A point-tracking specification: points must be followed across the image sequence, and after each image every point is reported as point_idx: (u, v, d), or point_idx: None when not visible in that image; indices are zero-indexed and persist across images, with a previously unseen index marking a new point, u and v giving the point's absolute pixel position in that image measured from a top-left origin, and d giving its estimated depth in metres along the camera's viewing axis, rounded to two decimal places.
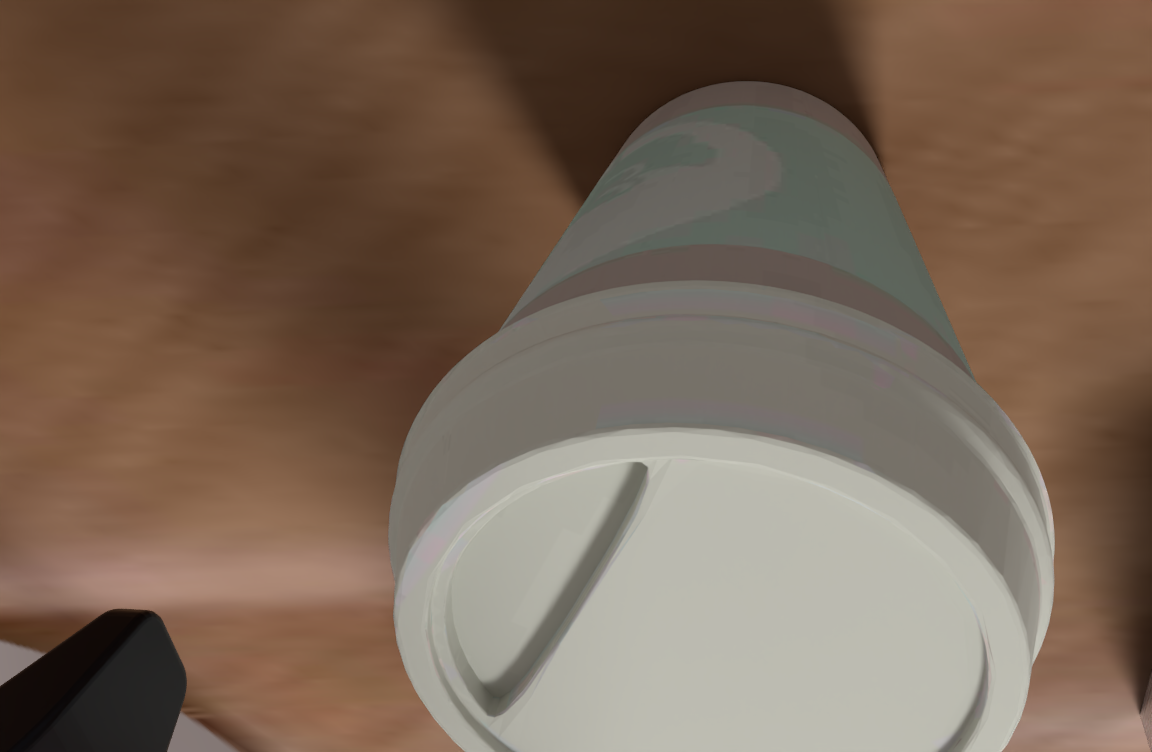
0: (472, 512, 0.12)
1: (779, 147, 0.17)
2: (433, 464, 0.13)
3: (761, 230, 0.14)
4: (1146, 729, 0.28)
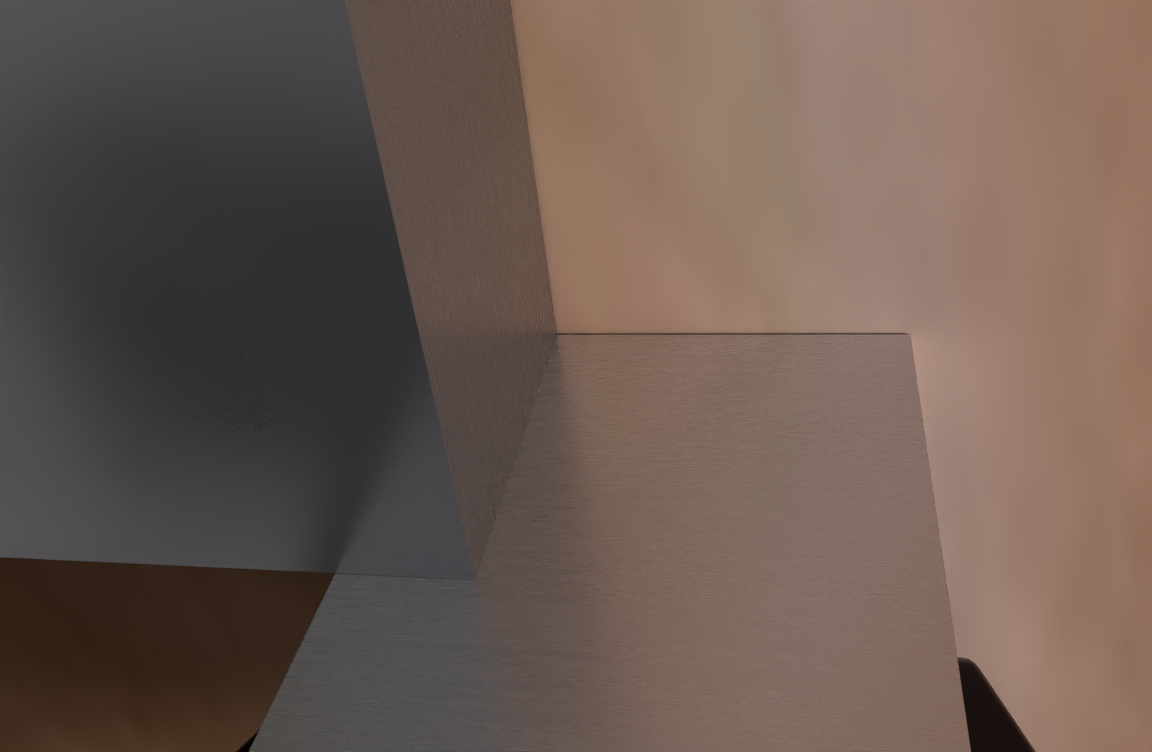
0: None
1: None
2: None
3: None
4: None
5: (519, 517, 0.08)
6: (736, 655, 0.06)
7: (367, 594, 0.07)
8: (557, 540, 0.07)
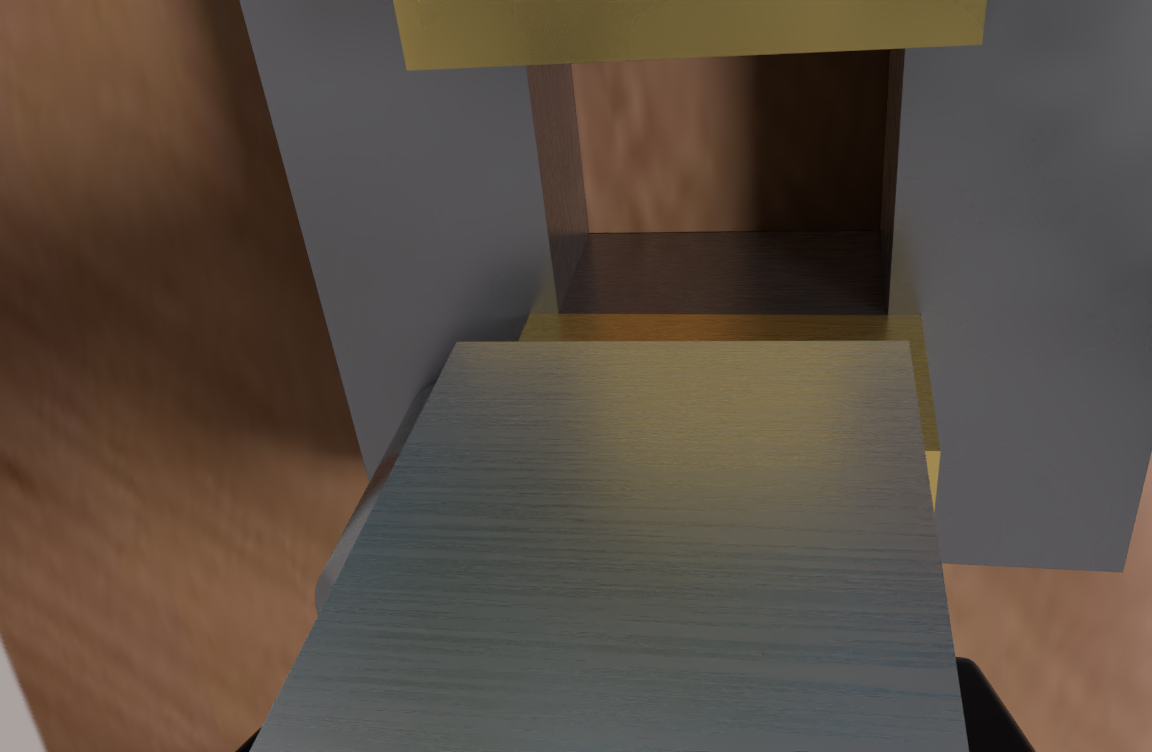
0: None
1: None
2: None
3: None
4: None
5: (524, 516, 0.08)
6: (735, 648, 0.07)
7: (373, 589, 0.07)
8: (560, 539, 0.08)
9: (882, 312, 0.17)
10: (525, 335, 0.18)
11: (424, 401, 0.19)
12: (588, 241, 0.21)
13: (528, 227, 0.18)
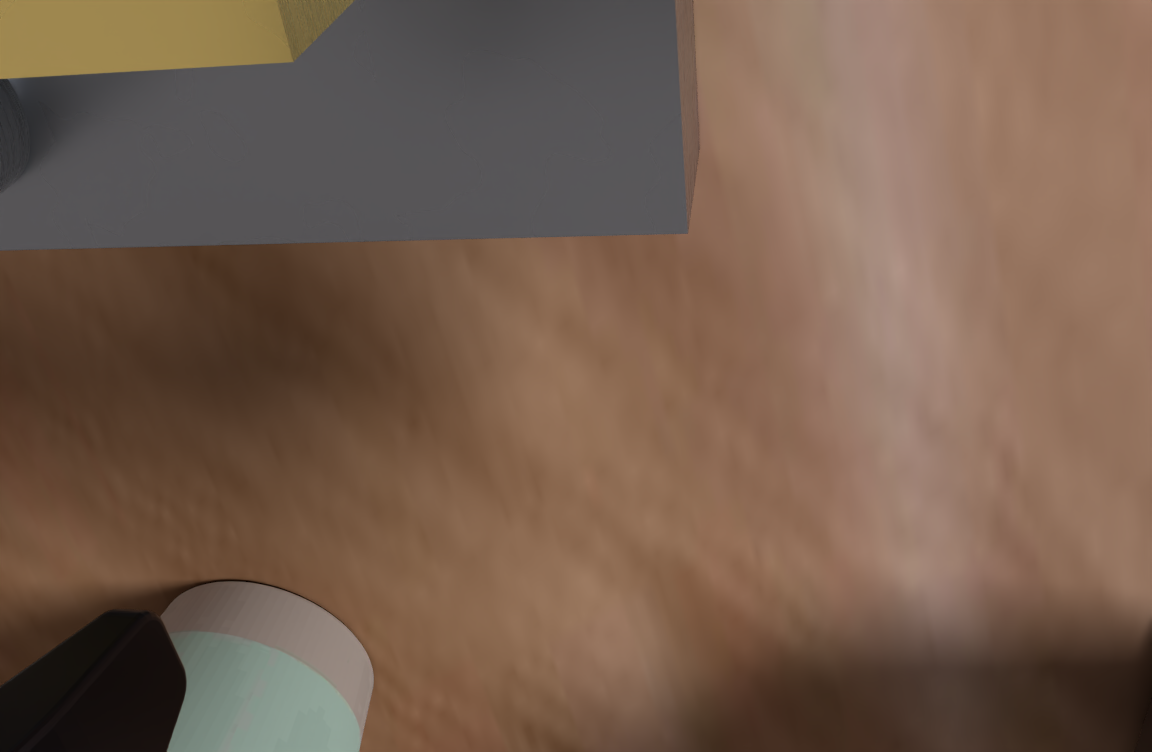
0: None
1: None
2: None
3: None
4: None
5: None
6: None
7: None
8: None
9: None
10: None
11: None
12: None
13: None
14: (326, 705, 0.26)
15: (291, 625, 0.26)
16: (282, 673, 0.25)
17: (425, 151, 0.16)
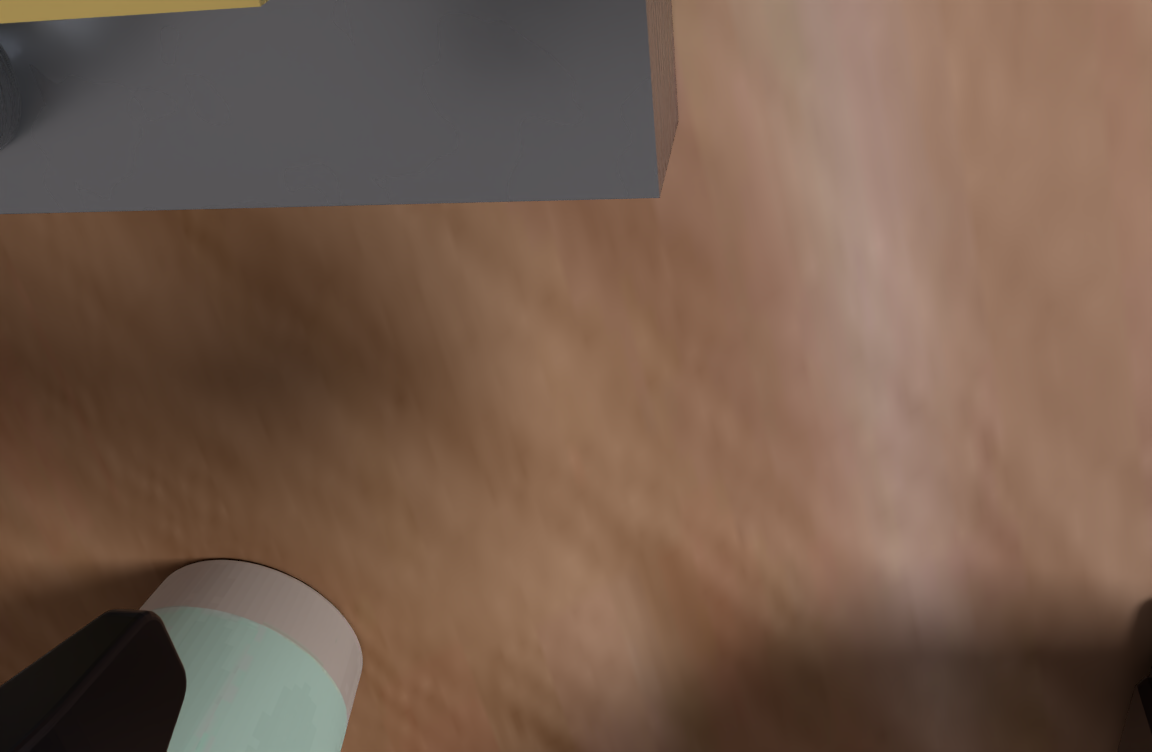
0: None
1: None
2: None
3: None
4: None
5: None
6: None
7: None
8: None
9: None
10: None
11: None
12: None
13: None
14: (311, 683, 0.26)
15: (280, 603, 0.26)
16: (268, 648, 0.25)
17: (402, 114, 0.16)
